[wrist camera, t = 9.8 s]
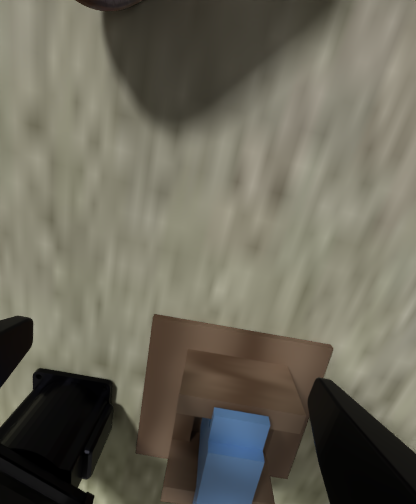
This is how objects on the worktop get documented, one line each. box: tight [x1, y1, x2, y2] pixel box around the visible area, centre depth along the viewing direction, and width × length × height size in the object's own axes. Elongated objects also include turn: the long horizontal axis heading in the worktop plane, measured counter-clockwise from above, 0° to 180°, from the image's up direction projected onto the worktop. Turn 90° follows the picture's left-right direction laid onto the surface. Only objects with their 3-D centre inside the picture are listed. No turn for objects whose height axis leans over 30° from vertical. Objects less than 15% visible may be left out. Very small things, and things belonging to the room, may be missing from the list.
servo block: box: [192, 407, 270, 504], centre depth 19 cm, size 3×9×6 cm, turn 170°
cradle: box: [136, 314, 333, 504], centre depth 20 cm, size 14×14×5 cm
